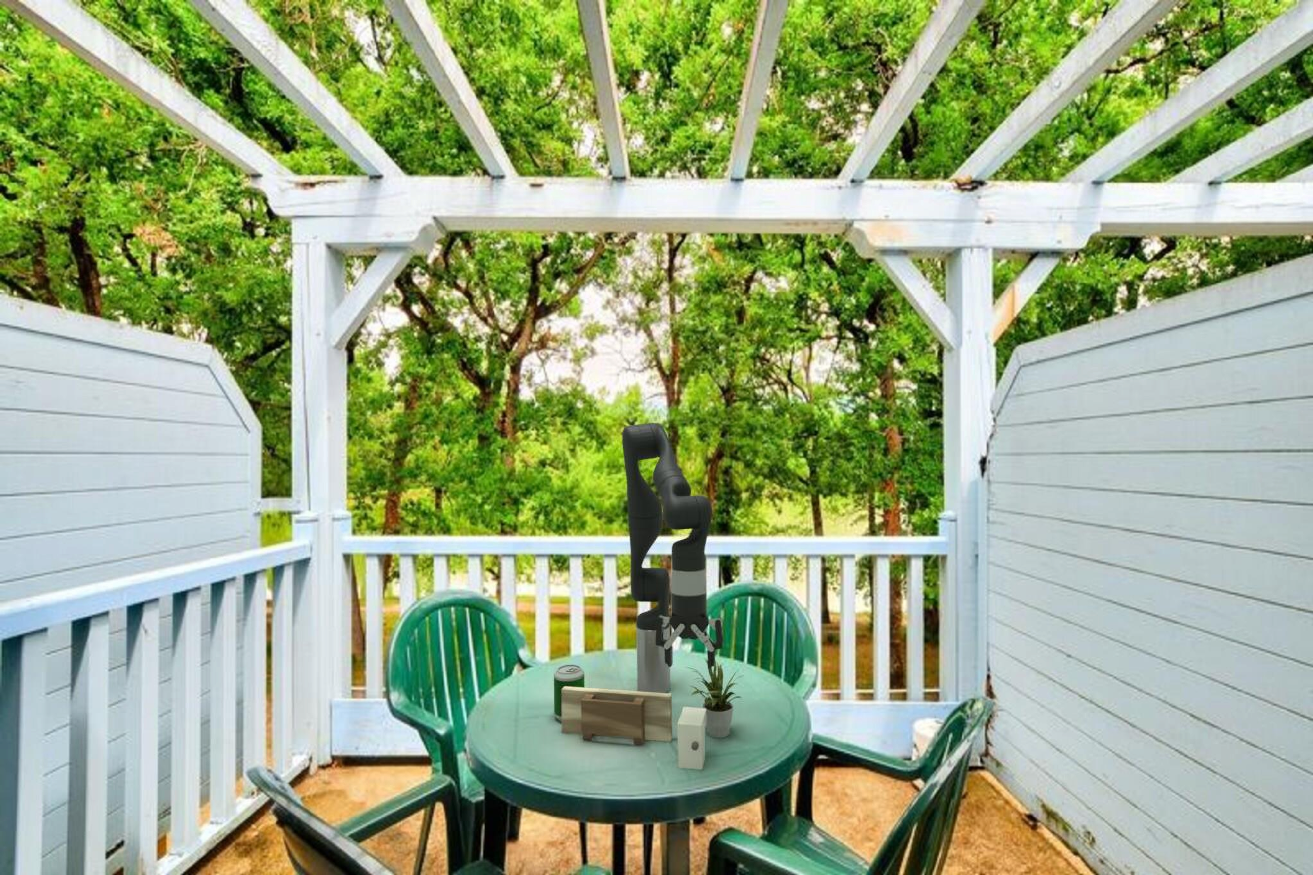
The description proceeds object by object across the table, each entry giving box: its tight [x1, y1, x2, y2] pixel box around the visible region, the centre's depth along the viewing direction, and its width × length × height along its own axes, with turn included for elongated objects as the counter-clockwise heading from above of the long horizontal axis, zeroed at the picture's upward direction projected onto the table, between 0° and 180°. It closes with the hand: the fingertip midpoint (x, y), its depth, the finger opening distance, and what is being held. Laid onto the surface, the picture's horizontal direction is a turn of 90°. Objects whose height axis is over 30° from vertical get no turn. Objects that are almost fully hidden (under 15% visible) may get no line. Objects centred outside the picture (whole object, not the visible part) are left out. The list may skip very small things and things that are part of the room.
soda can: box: [553, 664, 586, 723], centre depth 148 cm, size 8×8×12 cm
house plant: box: [685, 657, 743, 739], centre depth 140 cm, size 14×14×16 cm
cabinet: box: [676, 706, 707, 771], centre depth 127 cm, size 9×5×9 cm, turn 168°
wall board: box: [561, 686, 673, 746], centre depth 137 cm, size 5×26×10 cm, turn 78°
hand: (689, 666), depth 126 cm, fingers open, 8 cm apart
